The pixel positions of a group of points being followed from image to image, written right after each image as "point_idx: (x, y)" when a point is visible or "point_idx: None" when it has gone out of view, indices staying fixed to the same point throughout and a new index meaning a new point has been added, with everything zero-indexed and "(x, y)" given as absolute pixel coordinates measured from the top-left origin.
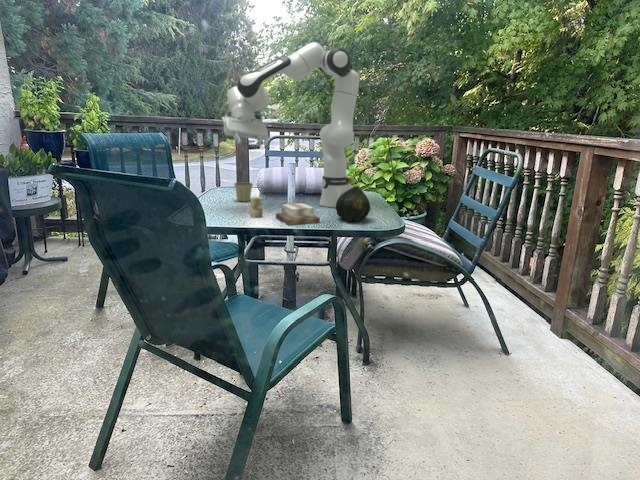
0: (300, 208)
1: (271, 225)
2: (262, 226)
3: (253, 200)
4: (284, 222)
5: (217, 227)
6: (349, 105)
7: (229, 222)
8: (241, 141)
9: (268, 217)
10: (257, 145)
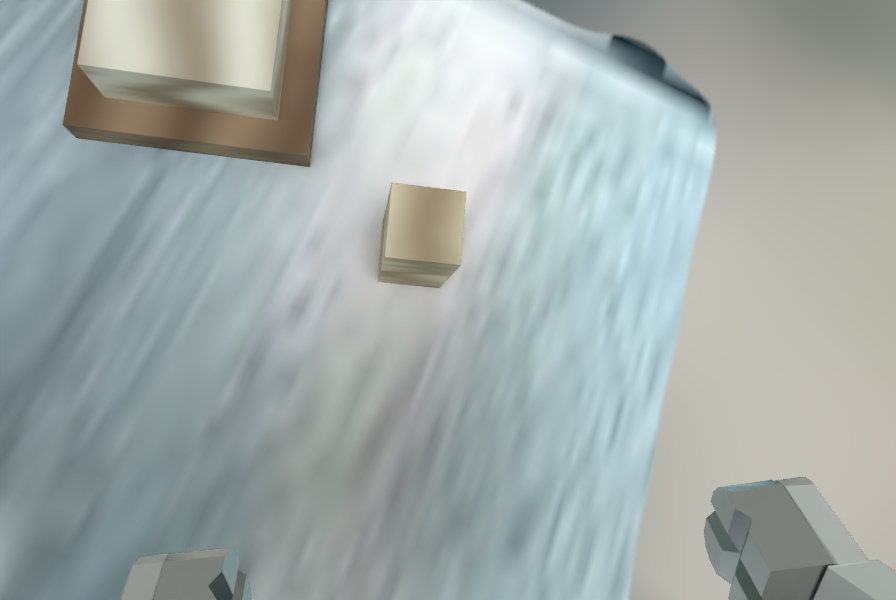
0: None
1: (421, 10)
2: (477, 13)
3: (462, 194)
4: (325, 19)
5: (701, 101)
6: None
7: (614, 176)
8: (744, 485)
9: (349, 198)
10: (245, 594)
